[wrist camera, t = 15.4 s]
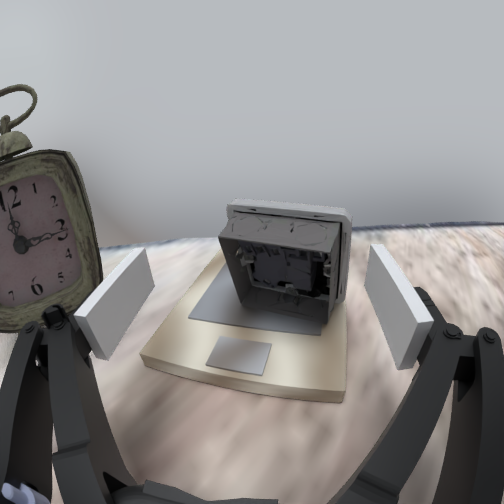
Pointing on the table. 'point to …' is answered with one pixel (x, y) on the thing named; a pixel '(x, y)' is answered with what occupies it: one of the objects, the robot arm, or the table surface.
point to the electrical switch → (288, 256)
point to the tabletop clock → (42, 229)
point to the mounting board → (249, 343)
